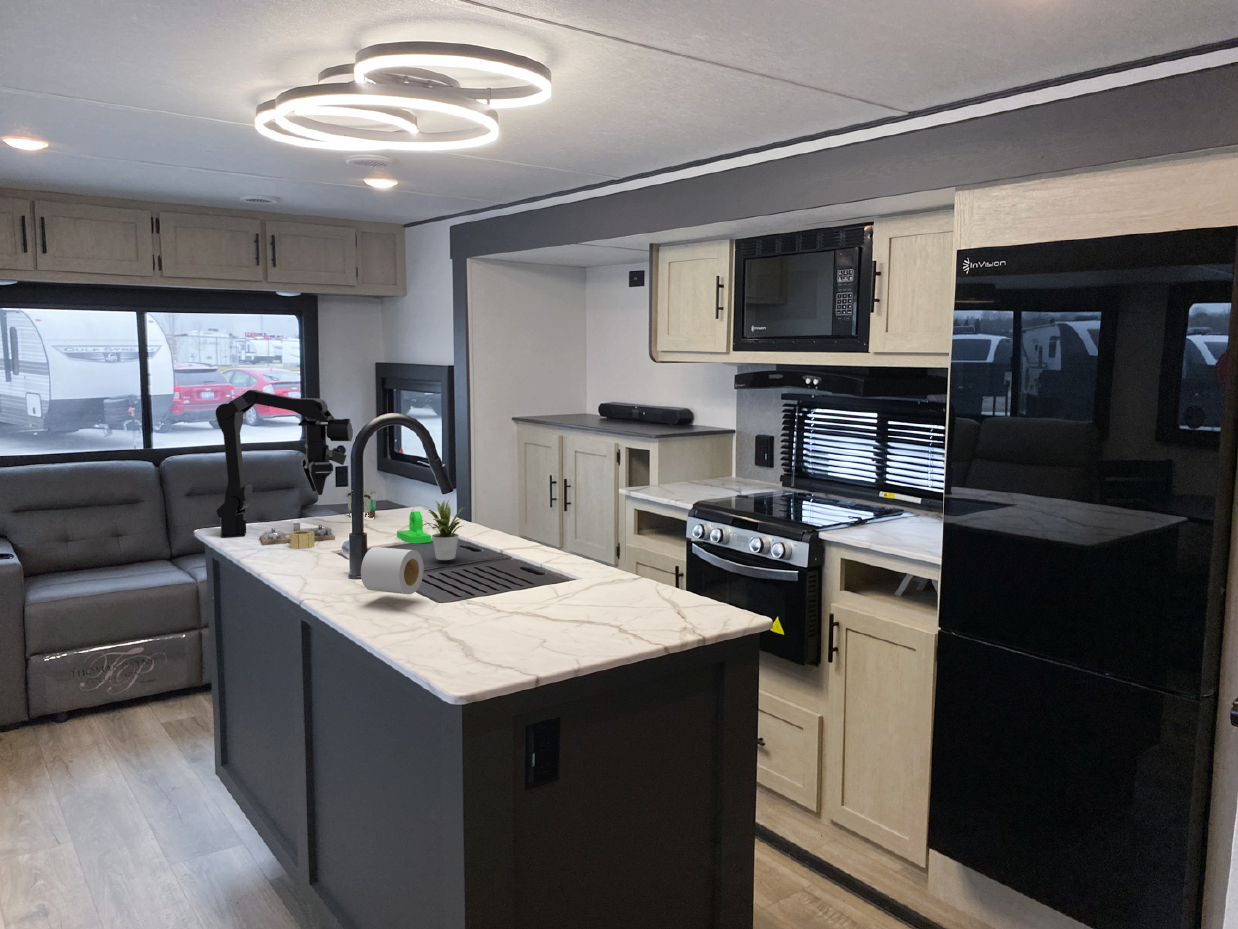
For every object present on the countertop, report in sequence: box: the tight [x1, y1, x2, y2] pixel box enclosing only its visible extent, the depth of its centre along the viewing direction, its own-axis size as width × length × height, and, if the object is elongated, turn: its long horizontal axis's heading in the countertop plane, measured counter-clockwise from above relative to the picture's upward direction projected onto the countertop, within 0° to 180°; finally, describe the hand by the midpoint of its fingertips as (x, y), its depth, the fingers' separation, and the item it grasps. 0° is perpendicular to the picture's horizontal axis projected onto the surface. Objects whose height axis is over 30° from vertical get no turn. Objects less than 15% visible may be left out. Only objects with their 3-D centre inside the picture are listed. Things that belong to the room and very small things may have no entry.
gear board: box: [259, 522, 336, 546], centre depth 269 cm, size 20×10×5 cm, turn 116°
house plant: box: [417, 499, 465, 561], centre depth 246 cm, size 14×14×16 cm
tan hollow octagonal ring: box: [288, 530, 315, 550], centre depth 260 cm, size 6×6×4 cm
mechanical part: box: [396, 510, 432, 544], centre depth 272 cm, size 12×6×8 cm, turn 34°
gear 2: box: [309, 524, 332, 536], centre depth 272 cm, size 6×6×3 cm
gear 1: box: [261, 527, 286, 539], centre depth 267 cm, size 6×6×3 cm
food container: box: [345, 489, 379, 518], centre depth 303 cm, size 12×6×10 cm, turn 58°
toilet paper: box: [360, 546, 425, 595], centre depth 208 cm, size 10×10×10 cm
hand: (317, 493), depth 272 cm, fingers open, 9 cm apart
